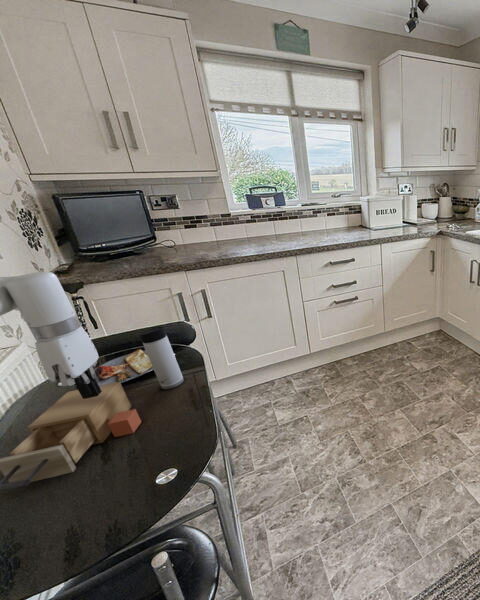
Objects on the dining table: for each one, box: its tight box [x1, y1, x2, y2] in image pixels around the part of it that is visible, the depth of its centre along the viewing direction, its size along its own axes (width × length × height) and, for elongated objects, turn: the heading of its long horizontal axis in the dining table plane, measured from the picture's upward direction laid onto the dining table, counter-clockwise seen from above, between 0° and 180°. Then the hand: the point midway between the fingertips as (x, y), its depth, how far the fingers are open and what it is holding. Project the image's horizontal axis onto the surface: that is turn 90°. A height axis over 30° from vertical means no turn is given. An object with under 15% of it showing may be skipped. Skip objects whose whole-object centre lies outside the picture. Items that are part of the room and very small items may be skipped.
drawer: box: [0, 418, 97, 493], centre depth 74 cm, size 20×11×7 cm, turn 15°
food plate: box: [94, 348, 154, 386], centre depth 115 cm, size 25×23×4 cm
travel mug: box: [139, 326, 185, 390], centre depth 102 cm, size 6×7×20 cm
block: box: [108, 408, 142, 438], centre depth 86 cm, size 4×4×4 cm
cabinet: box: [27, 382, 132, 446], centre depth 87 cm, size 15×13×9 cm
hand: (92, 395), depth 79 cm, fingers closed
